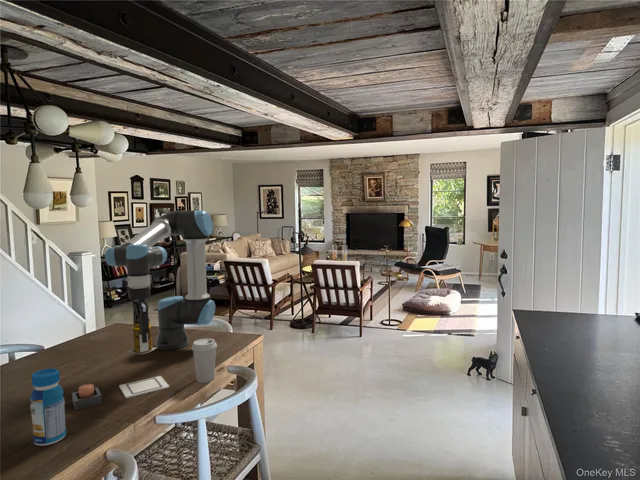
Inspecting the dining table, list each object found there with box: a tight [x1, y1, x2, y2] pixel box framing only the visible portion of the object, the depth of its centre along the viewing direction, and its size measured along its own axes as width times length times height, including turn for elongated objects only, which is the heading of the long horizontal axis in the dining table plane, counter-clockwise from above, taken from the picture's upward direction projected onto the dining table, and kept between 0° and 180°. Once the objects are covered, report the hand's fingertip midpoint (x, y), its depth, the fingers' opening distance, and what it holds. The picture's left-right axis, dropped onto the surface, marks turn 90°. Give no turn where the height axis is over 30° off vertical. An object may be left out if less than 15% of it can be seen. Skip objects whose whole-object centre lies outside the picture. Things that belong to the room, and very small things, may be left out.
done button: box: [78, 383, 95, 398], centre depth 149 cm, size 5×5×3 cm
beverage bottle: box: [29, 367, 67, 447], centre depth 125 cm, size 8×8×20 cm
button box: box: [71, 386, 103, 411], centre depth 149 cm, size 8×8×3 cm
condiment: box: [126, 317, 157, 355], centre depth 160 cm, size 7×8×12 cm
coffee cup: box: [191, 338, 218, 384], centre depth 167 cm, size 10×10×15 cm
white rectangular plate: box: [118, 375, 170, 399], centre depth 161 cm, size 15×12×1 cm
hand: (142, 348), depth 160 cm, fingers closed on condiment, 6 cm apart
